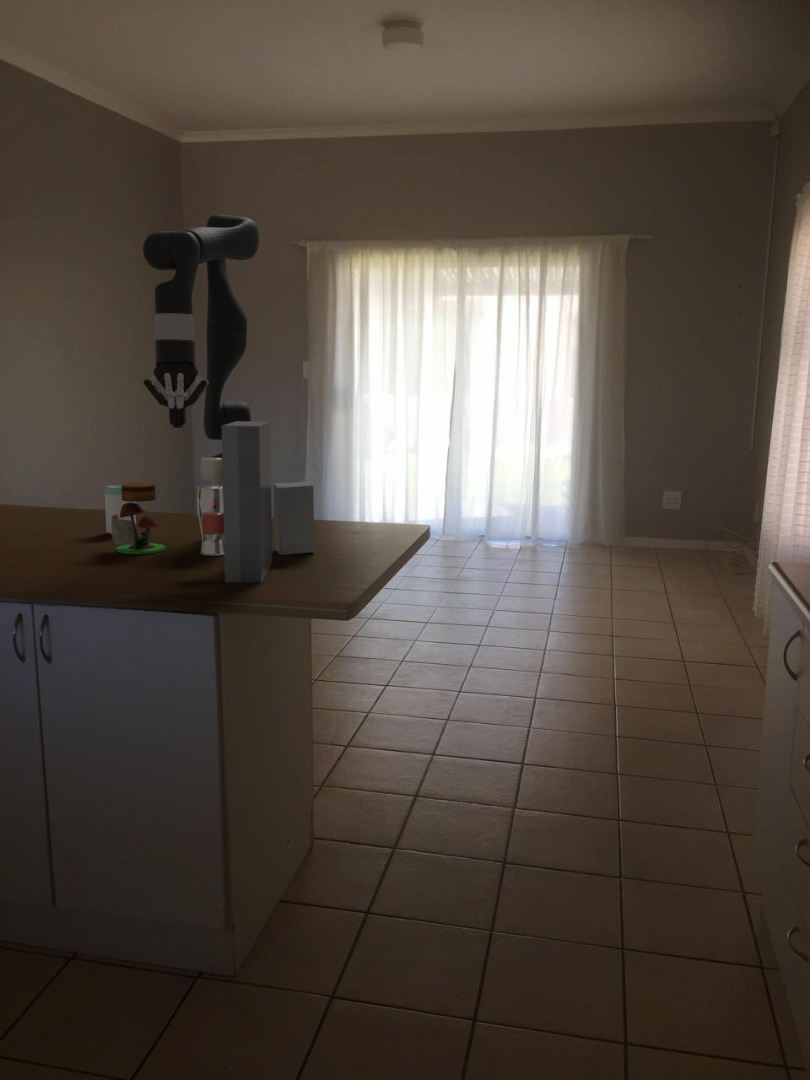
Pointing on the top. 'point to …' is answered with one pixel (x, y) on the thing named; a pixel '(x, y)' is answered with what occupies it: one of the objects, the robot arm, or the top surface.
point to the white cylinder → (211, 469)
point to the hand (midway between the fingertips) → (177, 427)
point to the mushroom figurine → (127, 529)
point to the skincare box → (294, 518)
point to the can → (114, 505)
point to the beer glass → (210, 503)
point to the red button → (213, 523)
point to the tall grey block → (247, 500)
